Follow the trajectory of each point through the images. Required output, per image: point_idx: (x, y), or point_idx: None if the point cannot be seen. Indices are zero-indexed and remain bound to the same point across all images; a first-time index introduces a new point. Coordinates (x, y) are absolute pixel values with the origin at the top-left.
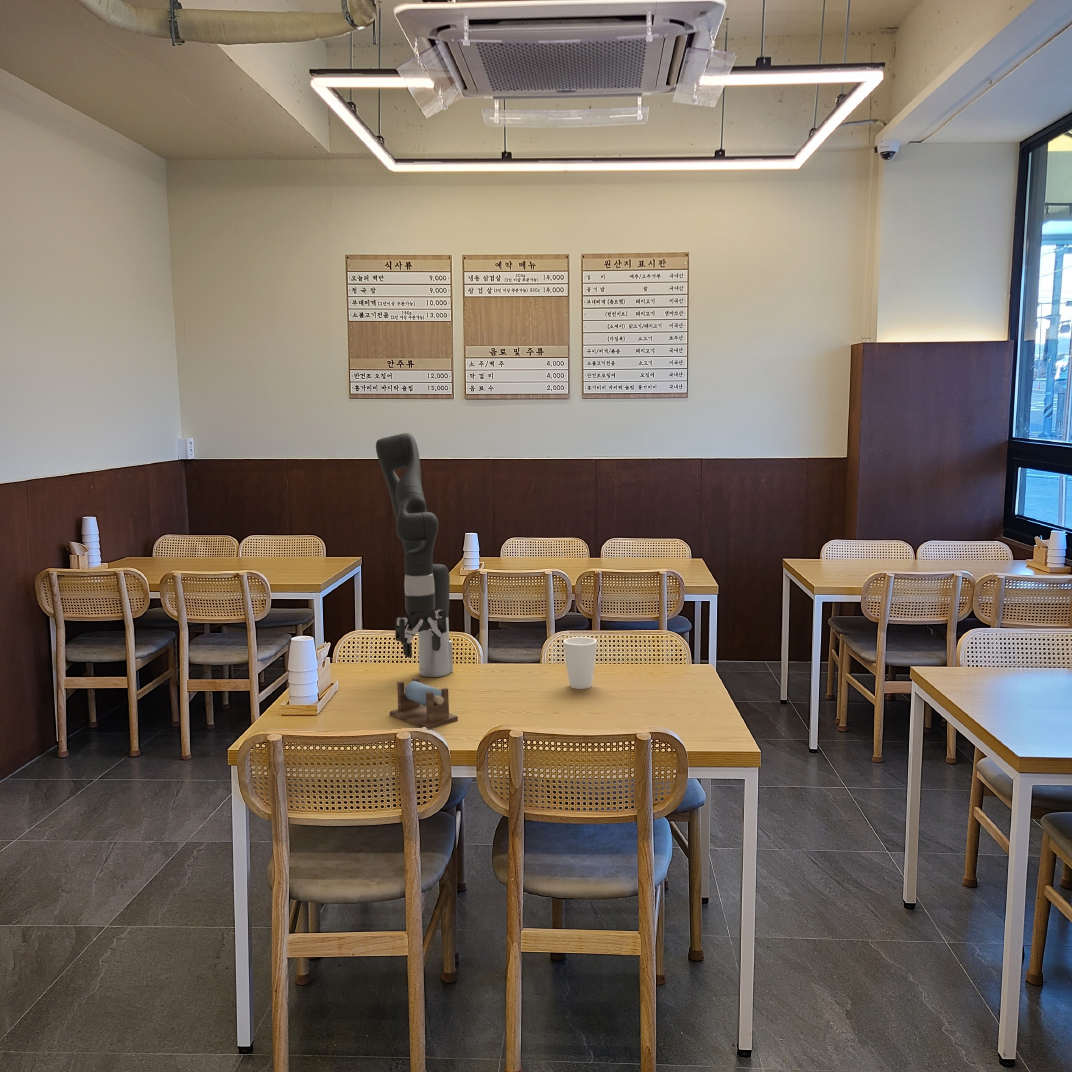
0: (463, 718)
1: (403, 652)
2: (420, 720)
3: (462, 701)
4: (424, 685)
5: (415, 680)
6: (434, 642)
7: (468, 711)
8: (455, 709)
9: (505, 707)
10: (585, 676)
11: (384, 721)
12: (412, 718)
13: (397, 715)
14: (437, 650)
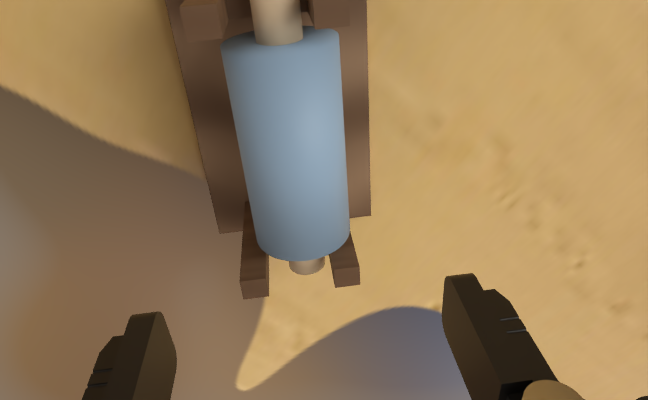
0: (395, 201)
1: (98, 362)
2: (230, 174)
3: (544, 14)
4: (296, 179)
5: (319, 27)
6: (470, 357)
7: (462, 148)
8: (444, 94)
9: (581, 189)
10: None
11: (102, 35)
12: (212, 135)
13: (174, 37)
14: (447, 326)
